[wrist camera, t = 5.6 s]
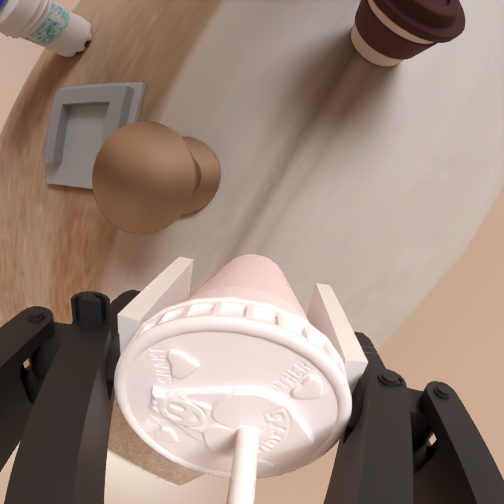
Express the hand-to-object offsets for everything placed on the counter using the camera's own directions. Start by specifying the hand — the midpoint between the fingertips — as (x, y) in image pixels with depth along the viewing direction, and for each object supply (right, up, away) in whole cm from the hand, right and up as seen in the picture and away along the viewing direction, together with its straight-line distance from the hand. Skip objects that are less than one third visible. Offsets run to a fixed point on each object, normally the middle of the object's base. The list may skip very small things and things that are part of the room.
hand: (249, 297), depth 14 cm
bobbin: (-8, +11, +18) cm, 23 cm away
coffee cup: (+16, +28, +12) cm, 34 cm away
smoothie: (0, 0, +2) cm, 2 cm away
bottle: (-25, +33, +13) cm, 44 cm away
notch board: (-21, +18, +17) cm, 32 cm away
